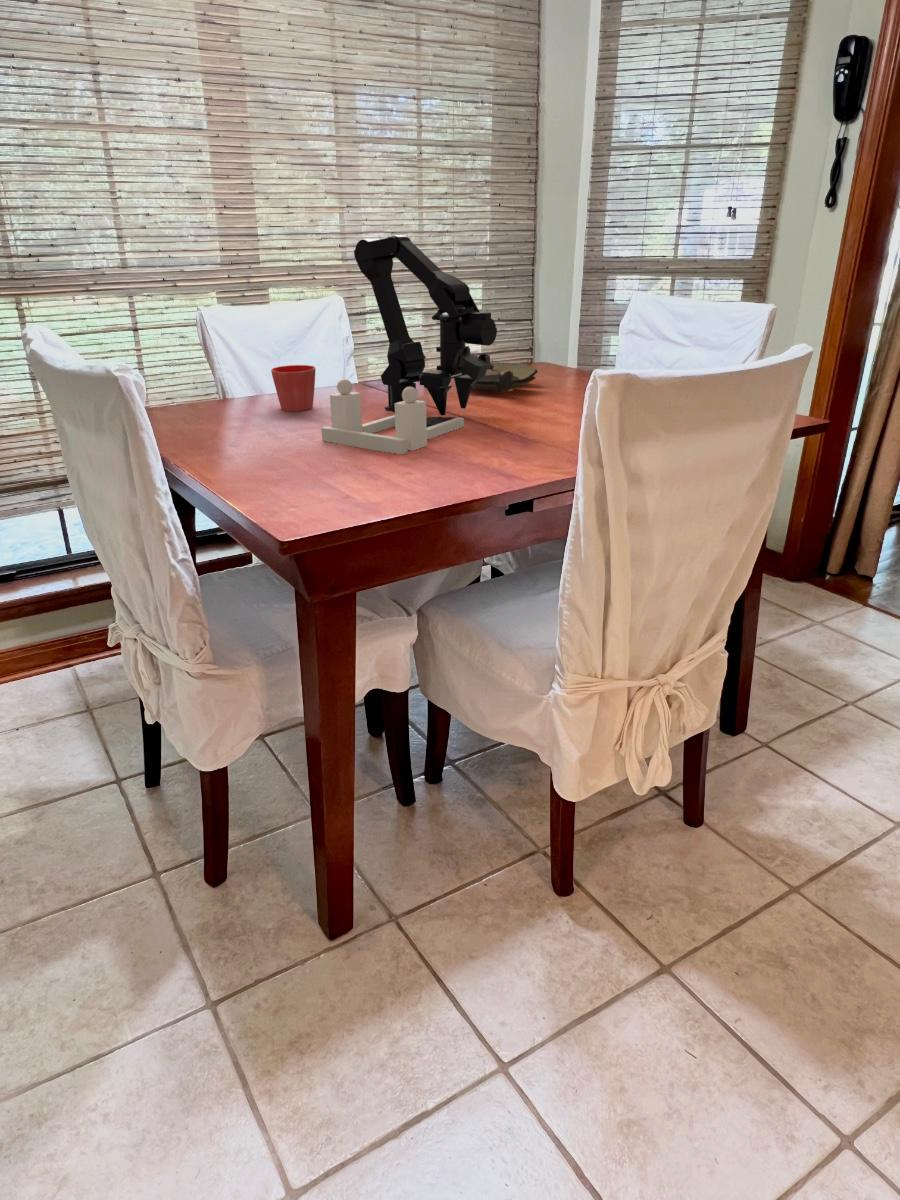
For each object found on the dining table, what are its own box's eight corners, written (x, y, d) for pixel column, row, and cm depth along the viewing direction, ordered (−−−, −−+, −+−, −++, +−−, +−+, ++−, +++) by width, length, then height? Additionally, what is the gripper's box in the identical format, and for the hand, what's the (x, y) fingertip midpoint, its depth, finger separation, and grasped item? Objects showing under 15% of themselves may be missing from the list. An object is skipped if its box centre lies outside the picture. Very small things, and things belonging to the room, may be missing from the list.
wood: (430, 420, 190) (429, 406, 189) (459, 422, 187) (459, 408, 186) (384, 441, 172) (383, 427, 171) (415, 444, 169) (415, 429, 168)
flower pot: (266, 411, 198) (261, 370, 194) (290, 402, 207) (286, 363, 203) (303, 414, 195) (300, 372, 191) (326, 405, 204) (323, 365, 200)
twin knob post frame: (322, 441, 170) (317, 382, 165) (399, 417, 190) (397, 365, 185) (402, 454, 159) (399, 392, 154) (474, 428, 179) (475, 372, 174)
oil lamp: (543, 382, 231) (544, 354, 228) (526, 402, 205) (526, 371, 201) (466, 379, 236) (466, 352, 233) (440, 399, 210) (439, 369, 207)
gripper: (459, 350, 171) (460, 423, 178) (504, 339, 185) (503, 408, 192) (417, 346, 177) (418, 417, 184) (463, 336, 191) (463, 403, 198)
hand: (453, 411), depth 189 cm, fingers open, 8 cm apart
